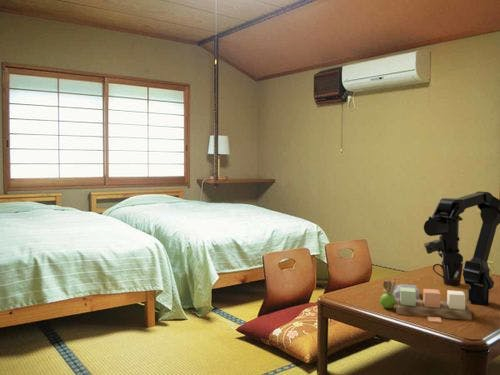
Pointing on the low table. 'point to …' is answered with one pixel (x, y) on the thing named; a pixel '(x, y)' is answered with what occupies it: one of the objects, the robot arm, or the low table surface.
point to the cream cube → (456, 299)
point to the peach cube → (431, 298)
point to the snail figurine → (388, 294)
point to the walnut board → (433, 310)
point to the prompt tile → (434, 319)
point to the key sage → (407, 296)
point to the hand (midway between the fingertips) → (449, 276)
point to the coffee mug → (447, 281)
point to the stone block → (397, 287)
